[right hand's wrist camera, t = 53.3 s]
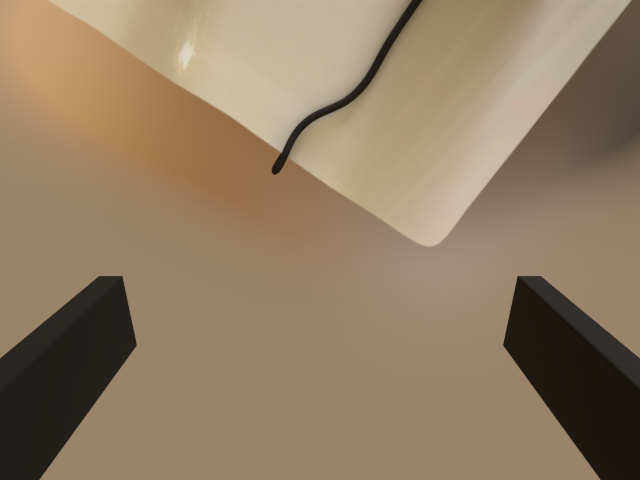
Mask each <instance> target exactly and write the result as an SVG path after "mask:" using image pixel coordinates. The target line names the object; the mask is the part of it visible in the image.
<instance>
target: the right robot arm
mask: <svg viewBox="0 0 640 480" xmlns="http://www.w3.org/2000/svg"><path fill="white" fill-rule="evenodd" d="M421 1H422V0H412V2H411V3H410V5H409V6H408V8H407V9H406V11H405V12H404V13H403V15H402V16H401V18H400V20H399V21H398V23H397V24H396V26H395V27H394V29H393V30H392V32H391V33H390V35H389V36H388V38H387V39H386V41H385V43H384V44H383V46H382V48H381V50H380V52H379V53H378V55H377V57H376V59H375V61H374V63H373V65H372V66H371V68H370V70H369V71H368V73H367V75H366V76H365V78H364V79H363V80H362V82H361V83H360V84H359V85H358V86H357V87H356V88H355V89H354V90H353V91H352V92H351V93H350V94H349V95H348V96H346V97H345V98H343V99H342V100H340V101H338V102H336V103H334V104H331V105H329V106H327V107H325V108H322V109H320V110H318V111H316V112H314V113H312V114H311V115H309V116H308V117H306V118H305V119H304V120H303V121H302V122H301V123H300V124H299V125H298V126H297V127H296V128H295V129H294V131H293V132H292V134H291V135H290V137H289V139H288V141H287V143H286V145H285V147H284V149H283V152H282V153H280V155H279V157H278V158H277V160H276V161H275V163H274V165H273V167H272V170H271V171H272V174H274V175H276V174H278V173H279V172H280V170H281V169H282V167H283V166H284V164H285V162H286V160H287V157H288V155H289V153H290V151H291V148H292V146H293V144H294V142H295V141H296V139H297V137H298V136H299V134H300V133H301V132H302V131H303V130H304V129H305V128H306V127H307V126H308V125H309V124H310V123H312V122H313V121H315V120H316V119H318V118H320V117H322V116H325V115H327V114H329V113H332V112H334V111H336V110H338V109H340V108H342V107H344V106H346V105H347V104H349V103H350V102H352V101H353V100H354V99H355V98H357V97H358V96H359V95H360V94H361V93H362V92H363V91H364V89H365V88H366V87H367V86H368V84H369V83H370V82H371V80H372V79H373V77H374V76H375V74H376V73H377V71H378V69H379V67H380V65H381V64H382V62H383V60H384V58H385V56H386V54H387V53H388V51H389V49H390V47H391V46H392V44H393V42H394V41H395V39H396V38H397V36H398V35H399V33H400V32H401V30H402V29H403V27H404V26H405V24H406V23H407V21H408V20H409V18H410V17H411V15H412V14H413V13H414V11H415V10H416V8H417V7H418V5H419V4H420V2H421ZM136 346H137V344H136V339H135V334H134V329H133V325H132V320H131V315H130V310H129V306H128V301H127V297H126V291H125V287H124V282H123V278H122V276H99V277H98V278H96V279H95V280H94V281H93V282H92V283H91V284H89V285H88V286H87V287H86V288H84V289H83V290H82V291H81V292H80V293H78V294H77V295H76V296H75V297H74V298H72V299H71V300H70V301H69V302H68V303H66V304H65V305H64V306H63V307H62V308H60V309H59V310H58V311H57V312H56V313H54V314H53V315H52V316H51V317H50V318H48V319H47V320H46V321H45V322H44V323H42V324H41V325H40V326H39V327H38V328H36V329H35V330H34V331H33V332H32V333H30V334H29V335H28V336H27V337H26V338H24V339H23V340H22V341H21V342H19V343H18V344H17V345H16V346H15V347H13V348H12V349H11V350H10V351H9V352H7V353H6V354H5V355H4V356H3V357H1V358H0V480H39V479H40V478H41V477H42V475H43V474H44V473H45V471H46V470H47V468H48V467H49V466H50V464H51V463H52V461H53V460H54V459H55V457H56V456H57V455H58V453H59V452H60V451H61V449H62V448H63V446H64V445H65V444H66V442H67V441H68V439H69V438H70V437H71V435H72V434H73V433H74V431H75V430H76V428H77V427H78V426H79V424H80V423H81V422H82V420H83V419H84V417H85V416H86V415H87V413H88V412H89V411H90V409H91V408H92V406H93V405H94V404H95V402H96V401H97V399H98V398H99V397H100V395H101V394H102V393H103V391H104V390H105V388H106V387H107V386H108V384H109V383H110V382H111V380H112V379H113V377H114V376H115V375H116V373H117V372H118V370H119V369H120V368H121V366H122V365H123V364H124V362H125V361H126V359H127V358H128V357H129V355H130V354H131V353H132V351H133V350H134V348H135V347H136ZM503 346H504V347H505V348H506V350H507V351H508V353H509V354H510V355H511V357H512V358H513V360H514V361H515V362H516V364H517V365H518V366H519V368H520V369H521V371H522V372H523V373H524V375H525V376H526V377H527V379H528V380H529V382H530V383H531V384H532V386H533V387H534V388H535V390H536V391H537V393H538V394H539V395H540V397H541V398H542V400H543V401H544V402H545V404H546V405H547V406H548V408H549V409H550V411H551V412H552V413H553V415H554V416H555V417H556V419H557V420H558V422H559V423H560V424H561V426H562V427H563V428H564V430H565V431H566V433H567V434H568V435H569V437H570V438H571V439H572V441H573V442H574V444H575V445H576V446H577V448H578V449H579V451H580V452H581V453H582V455H583V456H584V457H585V459H586V460H587V461H588V463H589V464H590V466H591V467H592V468H593V470H594V471H595V473H596V474H597V475H598V477H599V478H600V479H601V480H640V358H639V357H637V356H636V355H635V354H634V353H633V352H631V351H630V350H629V349H628V348H627V347H625V346H624V345H623V344H622V343H620V342H619V341H618V340H617V339H616V338H614V337H613V336H612V335H611V334H610V333H609V332H607V331H606V330H605V329H604V328H602V327H601V326H600V325H599V324H598V323H596V322H595V321H594V320H593V319H592V318H590V317H589V316H588V315H587V314H586V313H584V312H583V311H582V310H581V309H580V308H578V307H577V306H576V305H575V304H574V303H572V302H571V301H570V300H569V299H568V298H566V297H565V296H564V295H563V294H562V293H560V292H559V291H558V290H557V289H556V288H554V287H553V286H552V285H551V284H549V283H548V282H547V281H546V280H545V279H543V278H542V277H541V276H518V277H517V282H516V287H515V292H514V296H513V301H512V306H511V310H510V315H509V320H508V325H507V329H506V334H505V339H504V344H503Z"/></svg>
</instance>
